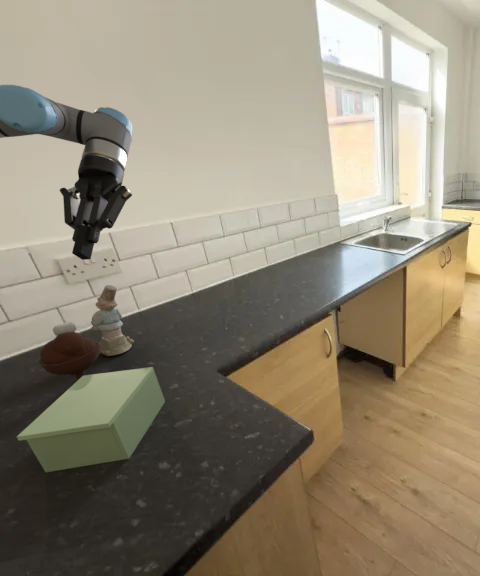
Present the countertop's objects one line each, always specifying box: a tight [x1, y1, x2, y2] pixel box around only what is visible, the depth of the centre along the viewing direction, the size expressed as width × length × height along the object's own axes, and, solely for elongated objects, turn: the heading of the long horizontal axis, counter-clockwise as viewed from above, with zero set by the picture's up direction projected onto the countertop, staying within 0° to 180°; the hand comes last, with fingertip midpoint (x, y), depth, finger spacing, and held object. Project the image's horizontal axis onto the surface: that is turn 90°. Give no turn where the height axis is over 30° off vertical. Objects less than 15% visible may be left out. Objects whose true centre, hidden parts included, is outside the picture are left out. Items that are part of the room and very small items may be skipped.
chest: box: [25, 370, 166, 473], centre depth 64 cm, size 16×14×9 cm
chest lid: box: [16, 366, 155, 441], centre depth 62 cm, size 17×14×1 cm
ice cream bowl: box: [37, 331, 101, 388], centre depth 78 cm, size 11×11×15 cm
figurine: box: [90, 284, 135, 357], centre depth 92 cm, size 9×8×20 cm
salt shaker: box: [52, 321, 77, 337], centre depth 86 cm, size 6×6×13 cm
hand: (81, 256), depth 64 cm, fingers closed
